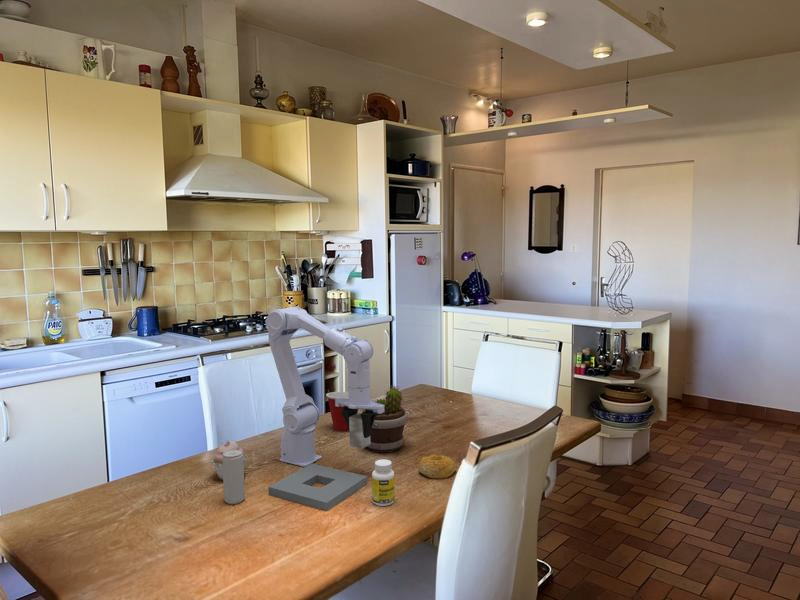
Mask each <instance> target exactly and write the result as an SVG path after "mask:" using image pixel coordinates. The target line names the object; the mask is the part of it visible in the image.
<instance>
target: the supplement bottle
mask: <svg viewBox="0 0 800 600" xmlns="http://www.w3.org/2000/svg"><path fill="white" fill-rule="evenodd" d="M392 468H393V466H392V461H391V460H389V459H378V460H375V461H374V469H373V471H372V473H371V501H372V503H373V504H374V505H376V506H378V507H386V506H390V505H392V504H394V503H395V497H396V496H395V492H396V491H395V471H394V470H393V469H392Z"/></svg>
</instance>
